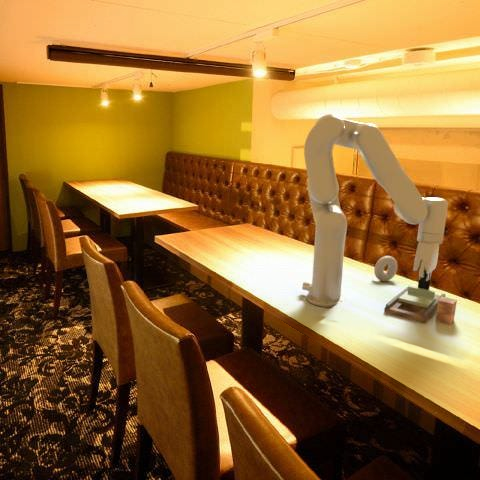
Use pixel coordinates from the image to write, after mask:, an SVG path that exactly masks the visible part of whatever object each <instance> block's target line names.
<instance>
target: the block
mask: <svg viewBox="0 0 480 480" xmlns="http://www.w3.org/2000/svg"><path fill="white" fill-rule="evenodd" d="M457 302H458V299H456V298H452V297H451V298H450V297H448V296H447V297H446V296H445V297H443V296H442V297H441V298H440V299H439V300H438V307H437V311H436V316H435V322H438V323H442V324H446V325H448V326H449V325H450V326H451V324H452V323H453V322H454V321H455V315H456V309H457V308H456V307H457Z"/></svg>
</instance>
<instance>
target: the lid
mask: <svg viewBox="0 0 480 480" xmlns="http://www.w3.org/2000/svg"><path fill="white" fill-rule="evenodd" d="M408 286H409V287H408ZM408 286H407V287H408V291H406V292H405V293H404V294H403V295H402V296H400V297H399V299H398V301H401V302H405V303H409V304H413V305H417V306H421V307H425V308H429V307H430V306H431V305H432V303H433V302H434V301H435V300H436V298H435V297H434V296H435V294H436V291H435V290H431V289H429V290H427V289H422V288H418V286H413V285H408Z"/></svg>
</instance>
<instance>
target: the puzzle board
mask: <svg viewBox="0 0 480 480" xmlns="http://www.w3.org/2000/svg"><path fill="white" fill-rule="evenodd" d="M409 286H410V285H408V286H407V287H405V288H404V289H403V290H402V291H401V292H400V293H398V294H397V295H396V296H394V297H393V298H392V299H390V300H389V301H388V302H387V303H386V304H385V307H384V312H383V313H385V314H388V315H392V316H395V317H400V318H402V319H408V320H409V321H414V322H417V323H422V324H426V323H427V322H428V320H429V319H431V317H432V316H433V315H434V314H435V313H437V307H438V300H439V299H440V298H441V297H442V296H443V297H446V294H445V293H441V294H440V295H439V294H436V293H435V296H434V297H435V298H436V300H435V301H434V302H433V303H432V305H431V306H430V307H429V308H425V307H421V306H417V305H413V304H409V303H405V302H401V301H398V299H399V297H400V296H402V295H403V294H404V293H405V292H406V291H408V287H409Z"/></svg>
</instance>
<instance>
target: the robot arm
mask: <svg viewBox="0 0 480 480" xmlns="http://www.w3.org/2000/svg"><path fill="white" fill-rule="evenodd" d="M335 145H337V146H340V147H343V148H348V149H353V150H356V151H357V152H358V153H359V155H360V157H361V159H362V160H363V162H364V164H365V165H366V167H367V168H368V170H369V172H370V173H371V175H372V177H373V178H374V180H375V181H376V183H377V184H378V185H379V186H380V187H382V189H384V190H385V192H386V193H387V194H388V196H389V197H390V198H391V199H392V201H393V202H394V203H393V211H394V214H395V215H396V216H397V217H399V218H401V220H403V221H405V223H407V224H410V225H418V229H417V238H416V241H417V242H418V243H417V247H416V251H415V257H414V262H413V269H412V270H413V272H418V270H419V272H418V281H417V287H418V288H422V289H427V290H430V285H431V278H432V277H431V276H432V272H433V271H434V270H435V269H436V267H437V264H438V258H439V250H440V245H442V244H443V241H444V235H445V230H446V229H445V228H446V223H447V222H446V220H447V213H448V205H449V204H448V203H449V202H448V200H446V199H445V198H441V197H433V196H431V197H422V195H421V193H420V192H419V190H418V188H417V186H416V185H415V183H414V182H413V181H412V179H411V178H410V176H409V175H408V174H407V172H406V171H405V169H404V168H403V166H402V165H401V163H400V162H399V160H398V158H397V157H396V155H395V154H394V151H393V150H392V148H391V147H390V145H389V143H388V141H387V139H386V138H385V136H384V134H383V132H382V131H381V130H380V128H379V127H378V126H377V125H376V124H373V123H369V122H368V123H366V122H365V123H364V122H358V121H354V120H349V119H346V118H342V117H341V116H339V115H337V114H335V113H329V114H324V115H322V116H321V117H319V119H317V121H316V122H315V124H314V125H313V126H312V128H310V131H309V133H308V134H307V137H306V139H305V142H304V148H303V155H304V161H305V167H306V169H305V170H306V174H307V178H308V181H307V193H308V198H309V202H310V207H311V211H312V216H313V221H314V224H315V234H314V235H315V236H314V244H313V245H314V247H313V263H312V265H313V266H312V280H311V283H309V282H306V281H305V282H303V283H302V287H301V288H302V290H304V291H307V292H308V293H307V294H306V300H307V302H308V303H310V304H312V305H315V306H318V307H321V308H322V307H324V308H334V307H335V306H337V305H338V304H339V303H342V302H343V301H345V299H346V298H345V296H344V295H342V293H341V292H342V282H343V281H342V280H343V270H344V269H343V268H344V257H345V256H344V252H345V244H346V236H347V231H348V221H347V216H346V214H345V213H344V211H343V210H342V209H341V204H340V199H339V191H340V187H339V186H340V185H339V182H338V179H337V175H336V169H335V163H334V157H333V150H334V147H335Z"/></svg>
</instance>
